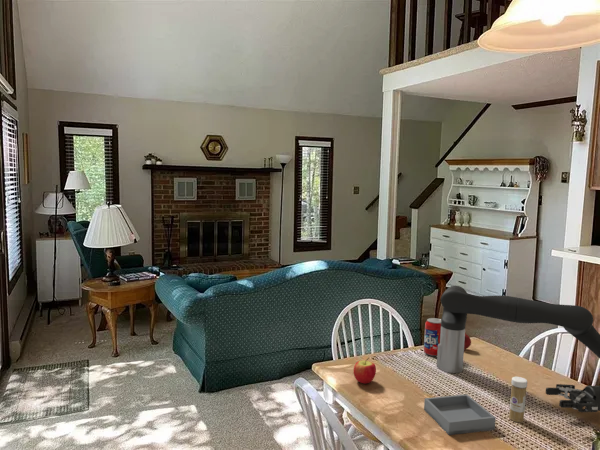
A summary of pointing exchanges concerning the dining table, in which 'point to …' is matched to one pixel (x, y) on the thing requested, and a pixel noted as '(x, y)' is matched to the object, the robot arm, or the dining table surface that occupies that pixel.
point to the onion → (467, 341)
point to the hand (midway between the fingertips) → (552, 397)
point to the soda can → (432, 336)
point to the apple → (364, 371)
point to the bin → (459, 414)
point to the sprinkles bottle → (518, 399)
